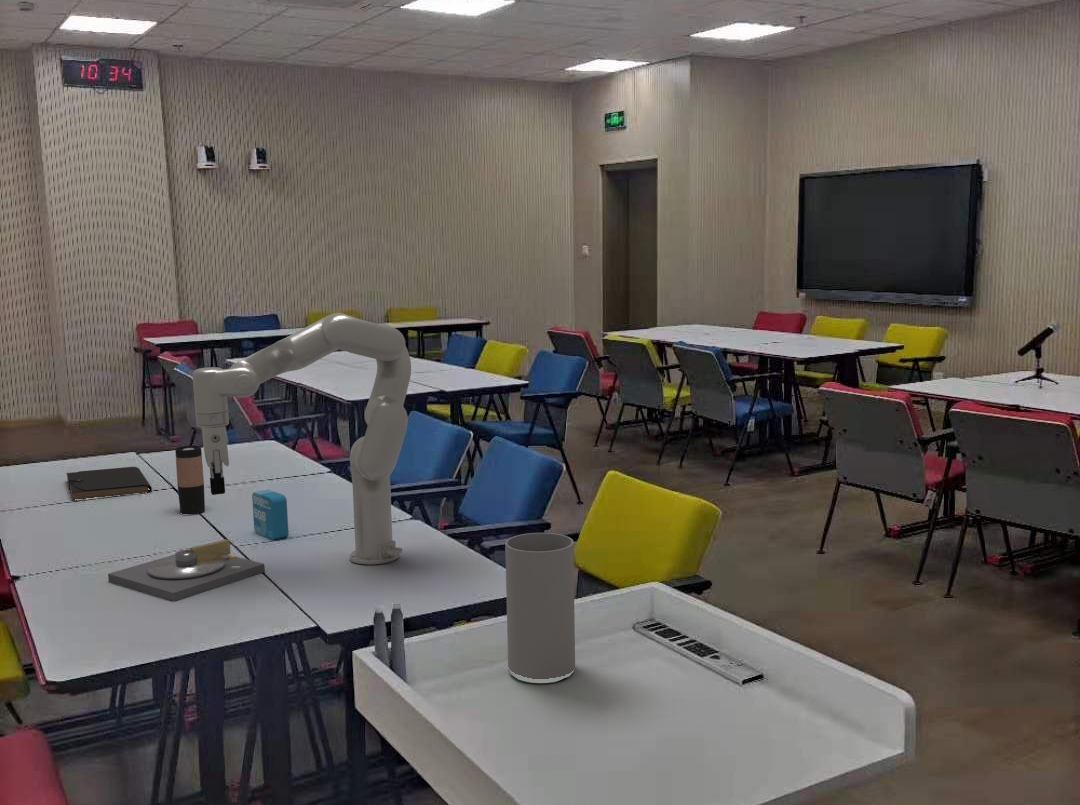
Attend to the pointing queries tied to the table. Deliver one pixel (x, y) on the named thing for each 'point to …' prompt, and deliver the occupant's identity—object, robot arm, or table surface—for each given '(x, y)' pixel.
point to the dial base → (185, 587)
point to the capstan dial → (192, 562)
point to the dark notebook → (107, 482)
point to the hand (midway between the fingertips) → (218, 493)
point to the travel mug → (190, 479)
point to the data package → (270, 514)
